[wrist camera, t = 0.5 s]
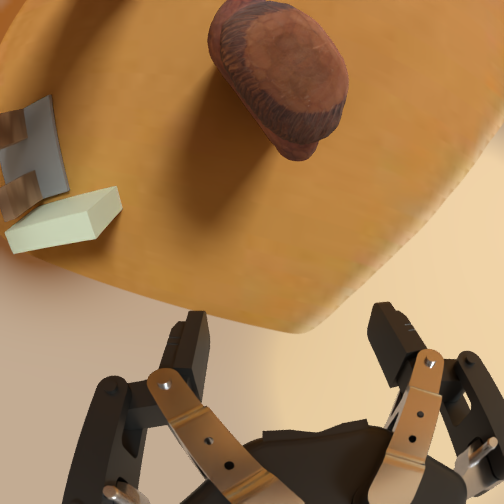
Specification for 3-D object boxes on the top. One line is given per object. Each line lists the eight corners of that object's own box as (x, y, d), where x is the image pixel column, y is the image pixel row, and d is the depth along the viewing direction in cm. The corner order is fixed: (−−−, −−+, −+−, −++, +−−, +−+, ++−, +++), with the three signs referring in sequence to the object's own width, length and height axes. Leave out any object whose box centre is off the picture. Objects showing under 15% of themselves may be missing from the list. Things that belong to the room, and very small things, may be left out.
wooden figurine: (315, 114, 27) (409, 136, 11) (265, 142, 28) (304, 195, 13) (257, 27, 22) (284, -58, 6) (204, 56, 23) (162, -3, 7)
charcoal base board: (-4, 126, 22) (-7, 127, 22) (51, 94, 22) (48, 94, 22) (15, 207, 29) (13, 208, 29) (70, 189, 29) (67, 191, 28)
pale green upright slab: (37, 206, 30) (4, 232, 23) (116, 185, 30) (86, 211, 23) (44, 225, 31) (13, 253, 24) (122, 208, 31) (95, 238, 24)
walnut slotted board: (12, 115, 22) (-19, 123, 16) (23, 108, 22) (-9, 115, 16) (32, 202, 28) (4, 222, 23) (42, 198, 28) (15, 218, 23)
